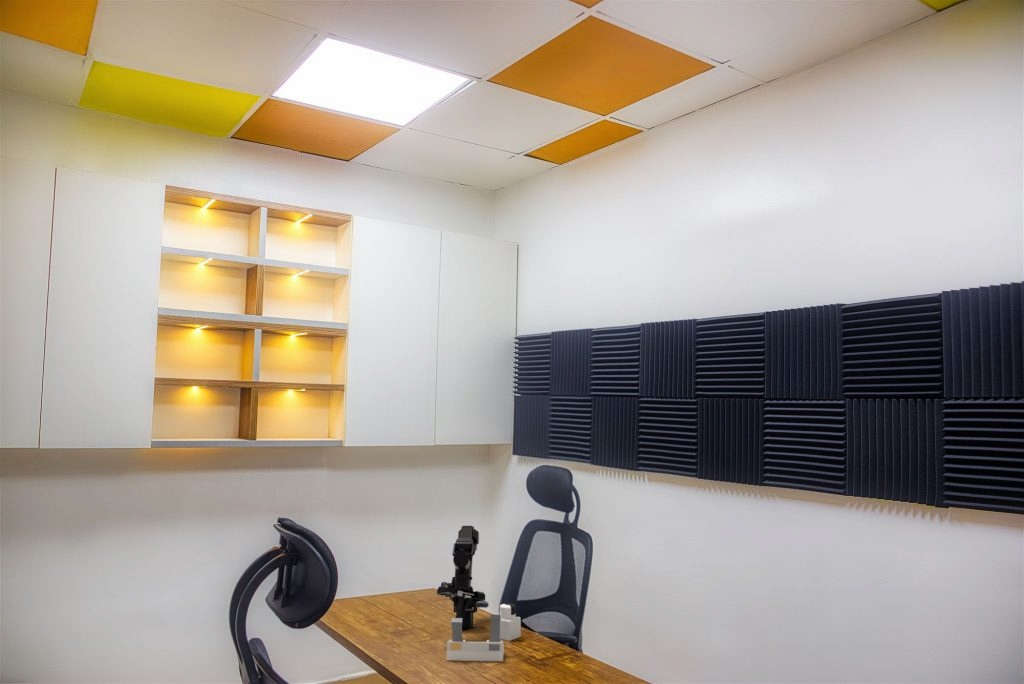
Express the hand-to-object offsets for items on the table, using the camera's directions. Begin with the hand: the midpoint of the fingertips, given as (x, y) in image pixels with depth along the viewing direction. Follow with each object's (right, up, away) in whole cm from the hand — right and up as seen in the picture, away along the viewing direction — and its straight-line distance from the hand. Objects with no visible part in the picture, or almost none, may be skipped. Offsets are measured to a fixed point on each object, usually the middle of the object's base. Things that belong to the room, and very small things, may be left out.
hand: (460, 618), depth 270 cm
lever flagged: (0, -4, -12) cm, 13 cm away
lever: (+13, -4, -12) cm, 18 cm away
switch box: (+6, -8, -13) cm, 17 cm away
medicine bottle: (+17, -11, +9) cm, 22 cm away
